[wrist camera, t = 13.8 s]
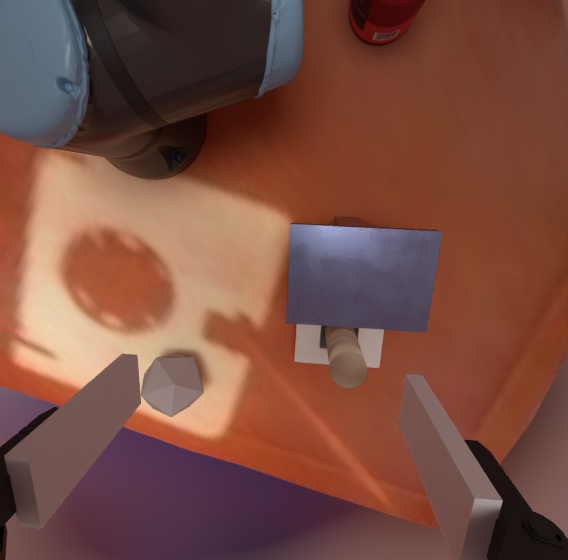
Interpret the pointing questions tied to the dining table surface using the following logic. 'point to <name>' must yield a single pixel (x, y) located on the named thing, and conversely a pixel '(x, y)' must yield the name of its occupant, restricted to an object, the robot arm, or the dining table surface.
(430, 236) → the slate blue panel
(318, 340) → the socket block
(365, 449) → the dining table surface
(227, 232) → the dining table surface
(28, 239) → the dining table surface
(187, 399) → the die
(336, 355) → the peg
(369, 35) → the canned food
